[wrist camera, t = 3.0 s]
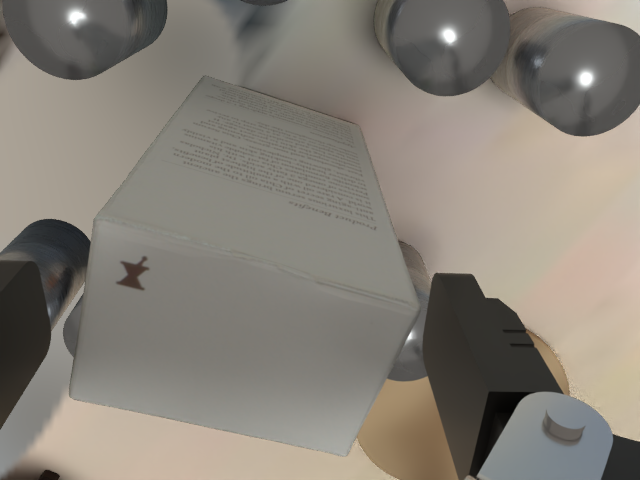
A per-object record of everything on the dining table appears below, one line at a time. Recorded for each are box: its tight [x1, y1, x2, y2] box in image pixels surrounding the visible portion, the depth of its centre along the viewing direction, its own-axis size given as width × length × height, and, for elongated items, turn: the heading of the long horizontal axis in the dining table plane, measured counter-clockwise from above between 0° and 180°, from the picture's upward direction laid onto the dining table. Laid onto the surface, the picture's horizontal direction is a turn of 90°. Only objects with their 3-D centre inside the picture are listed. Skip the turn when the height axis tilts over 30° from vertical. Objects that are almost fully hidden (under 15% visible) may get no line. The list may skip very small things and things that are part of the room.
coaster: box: [357, 329, 570, 480], centre depth 27 cm, size 10×10×1 cm
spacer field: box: [0, 0, 640, 382], centre depth 19 cm, size 20×17×5 cm
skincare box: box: [69, 76, 421, 456], centre depth 16 cm, size 6×4×12 cm
